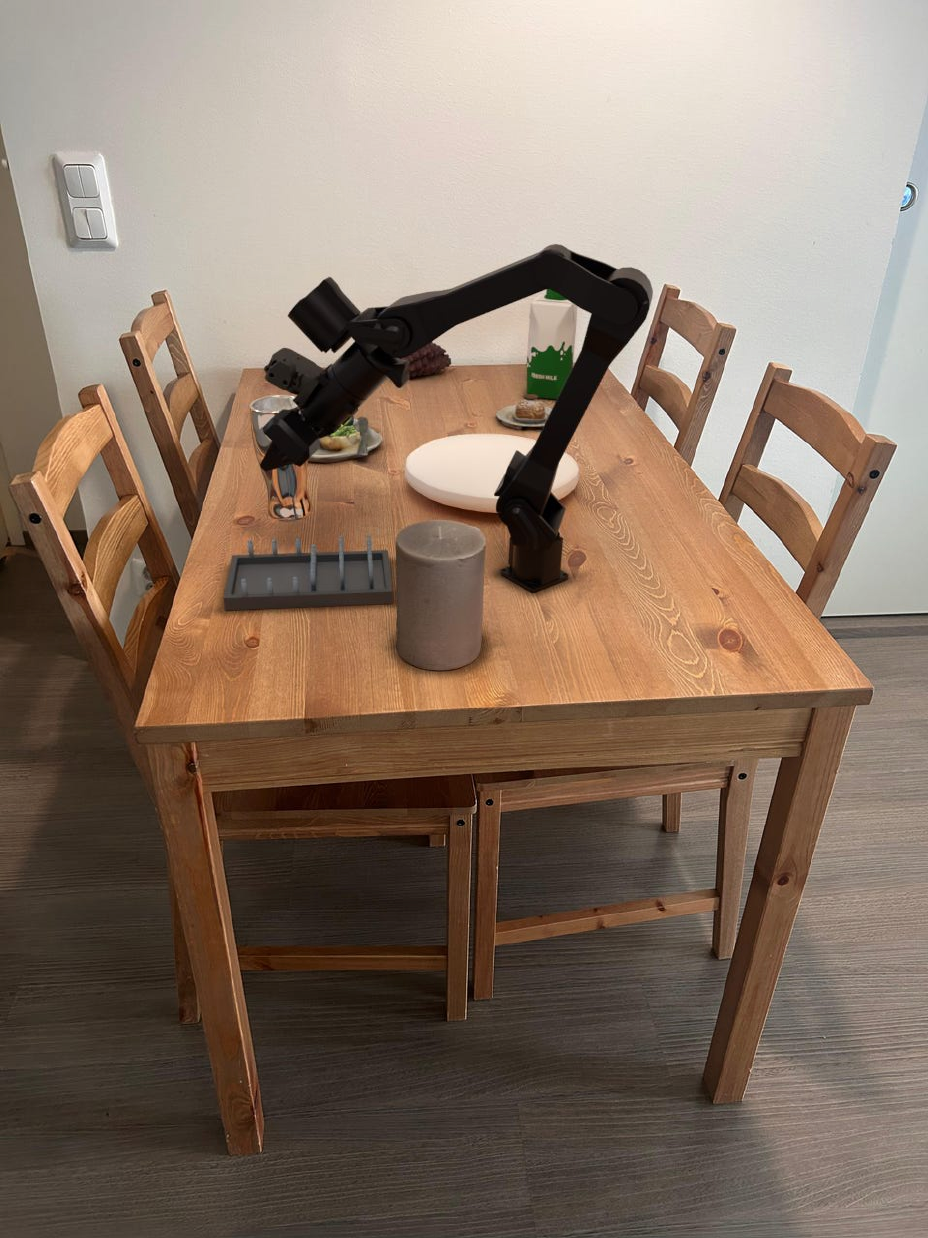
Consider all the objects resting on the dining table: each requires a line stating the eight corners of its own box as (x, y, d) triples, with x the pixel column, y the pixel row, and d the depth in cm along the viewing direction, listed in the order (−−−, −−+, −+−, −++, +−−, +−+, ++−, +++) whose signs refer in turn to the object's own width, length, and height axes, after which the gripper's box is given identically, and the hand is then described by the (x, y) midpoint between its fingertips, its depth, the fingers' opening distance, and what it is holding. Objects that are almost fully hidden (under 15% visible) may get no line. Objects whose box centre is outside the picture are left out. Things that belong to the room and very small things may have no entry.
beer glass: (257, 507, 125) (241, 399, 117) (307, 497, 127) (295, 391, 119) (271, 528, 120) (255, 416, 112) (323, 517, 122) (311, 407, 114)
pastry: (558, 434, 165) (560, 409, 163) (491, 429, 167) (492, 404, 164) (563, 412, 176) (565, 388, 173) (500, 408, 177) (501, 384, 175)
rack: (388, 561, 122) (387, 527, 120) (392, 603, 113) (392, 567, 110) (233, 567, 120) (229, 532, 117) (225, 610, 111) (220, 573, 108)
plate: (429, 421, 155) (588, 436, 151) (427, 459, 158) (583, 475, 154) (383, 465, 130) (572, 485, 126) (382, 509, 133) (567, 530, 129)
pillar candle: (378, 646, 105) (375, 525, 97) (441, 616, 111) (442, 500, 103) (437, 682, 99) (438, 557, 91) (500, 648, 105) (506, 528, 97)
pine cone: (441, 364, 201) (458, 330, 193) (444, 398, 196) (462, 365, 188) (362, 345, 195) (376, 309, 187) (363, 380, 190) (378, 345, 182)
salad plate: (408, 456, 155) (408, 429, 152) (309, 475, 146) (307, 448, 144) (358, 421, 169) (357, 396, 166) (264, 437, 160) (262, 411, 158)
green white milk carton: (573, 389, 188) (582, 286, 177) (564, 402, 180) (573, 295, 170) (531, 384, 190) (537, 282, 179) (520, 397, 182) (526, 291, 172)
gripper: (330, 311, 118) (258, 390, 126) (271, 349, 102) (193, 436, 110) (391, 378, 120) (316, 450, 128) (343, 424, 105) (261, 504, 113)
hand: (273, 458), depth 120 cm, fingers closed on beer glass, 7 cm apart
